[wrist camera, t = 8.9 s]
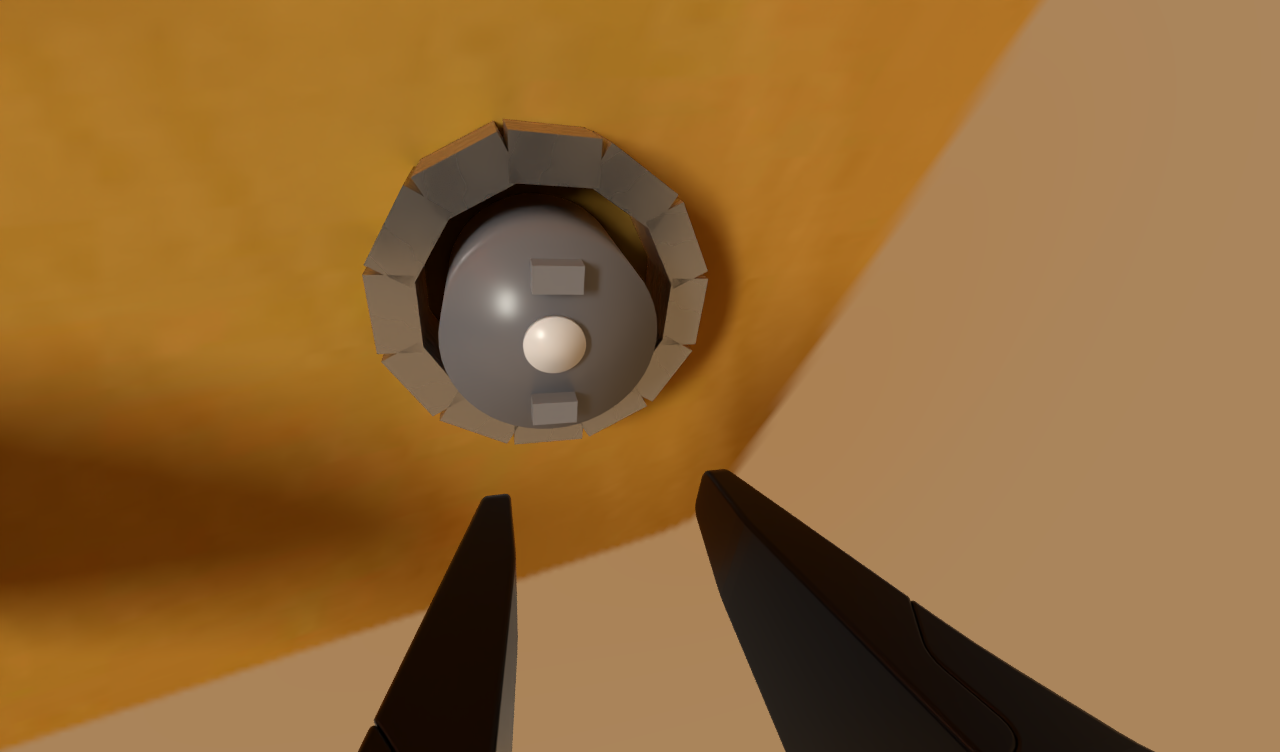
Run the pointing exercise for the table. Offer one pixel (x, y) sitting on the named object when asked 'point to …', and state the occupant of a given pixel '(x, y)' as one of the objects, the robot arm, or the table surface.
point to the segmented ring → (482, 173)
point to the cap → (543, 315)
